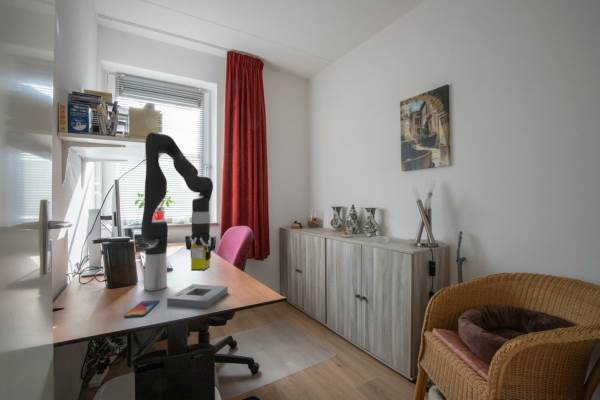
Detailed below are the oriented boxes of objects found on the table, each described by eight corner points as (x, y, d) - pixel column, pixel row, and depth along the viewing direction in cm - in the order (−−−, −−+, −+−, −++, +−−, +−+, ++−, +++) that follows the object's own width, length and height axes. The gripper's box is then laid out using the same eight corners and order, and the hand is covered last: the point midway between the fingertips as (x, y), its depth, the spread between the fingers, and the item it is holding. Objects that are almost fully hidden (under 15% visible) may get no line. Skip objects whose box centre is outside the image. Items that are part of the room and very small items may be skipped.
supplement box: (210, 267, 120) (210, 243, 120) (204, 271, 115) (204, 246, 114) (197, 267, 121) (197, 243, 121) (190, 270, 115) (190, 245, 115)
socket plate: (167, 305, 110) (167, 297, 110) (192, 290, 128) (192, 283, 128) (206, 308, 106) (206, 301, 106) (227, 292, 124) (227, 286, 124)
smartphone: (160, 302, 115) (160, 300, 115) (144, 317, 100) (144, 314, 100) (142, 303, 114) (142, 301, 114) (122, 318, 99) (122, 315, 99)
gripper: (180, 222, 115) (180, 260, 115) (211, 223, 112) (211, 262, 113) (190, 220, 122) (190, 256, 123) (220, 221, 120) (219, 258, 120)
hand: (200, 259), depth 118 cm, fingers closed on supplement box, 6 cm apart
